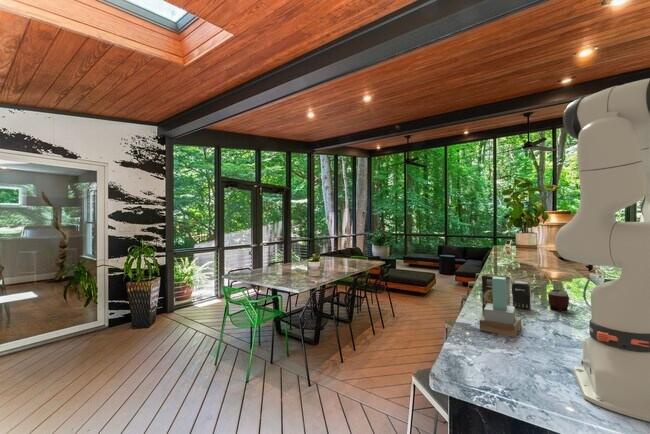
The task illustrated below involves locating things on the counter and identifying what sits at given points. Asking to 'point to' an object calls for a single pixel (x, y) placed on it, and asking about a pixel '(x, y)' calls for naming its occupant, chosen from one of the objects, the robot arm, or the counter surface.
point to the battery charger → (521, 295)
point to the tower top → (499, 314)
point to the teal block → (499, 293)
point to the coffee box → (487, 289)
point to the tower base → (501, 327)
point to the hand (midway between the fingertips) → (570, 247)
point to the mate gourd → (558, 298)
